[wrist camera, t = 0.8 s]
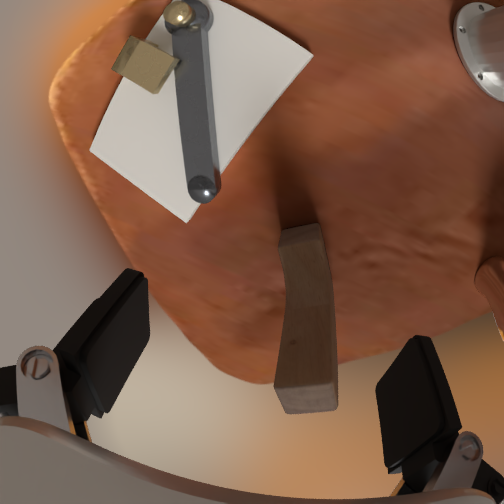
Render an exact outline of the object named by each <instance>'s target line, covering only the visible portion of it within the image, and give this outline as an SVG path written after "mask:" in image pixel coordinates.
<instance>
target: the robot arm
mask: <svg viewBox="0 0 504 504" xmlns="http://www.w3.org/2000/svg"><path fill="white" fill-rule="evenodd" d="M453 31H454V40H455V45H456V48H457V51H458V54H459V57H460V59H461V61H462V63H463V65H464V67H465V69H466V70H467V72H468V74H469V75H470V76H471V78H472V79H473V80H474V82H475V83H476V84H477V85H478V86H479V87H480V88H481V89H482V90H483V91H484V92H485V93H487V94H488V95H489V96H491V97H493V98H494V99H496V100H499V101H502V102H504V6H501V7H498V8H495V7H493V6H491V5H489V4H486V3H482V2H473V3H470V4H467V5H465V6H463V7H462V8H461V9H460V10H459V11H458V12H457V14H456V17H455V19H454V25H453ZM148 303H149V302H148V279H147V278H145V277H144V274H143V273H142V272H139V271H136V270H132V269H129V268H127V269H125V270H124V271H123V272H122V273H121V275H120V276H119V277H118V278H117V279H116V280H115V281H114V282H113V283H112V285H111V286H110V287H109V288H108V289H107V290H106V291H105V292H104V293H103V295H102V296H101V297H100V298H98V299H96V300H95V301H93V303H92V304H91V305H90V306H89V307H88V308H87V309H86V311H85V312H84V313H83V314H82V315H81V316H80V318H79V319H78V320H77V321H76V322H75V324H74V325H73V326H72V327H71V328H70V330H69V331H68V332H67V333H66V334H65V336H64V337H63V338H62V339H61V341H60V342H59V343H58V344H57V346H56V347H55V348H54V349H53V351H52V350H51V349H49V348H48V347H45V346H33V347H30V348H28V349H26V350H25V351H24V352H23V353H22V354H21V355H20V356H19V358H18V360H17V365H13V366H8V367H2V368H0V504H504V478H503V476H502V475H501V474H500V473H498V472H497V471H496V470H495V469H493V468H492V467H491V466H490V465H489V464H487V463H486V462H485V461H484V460H483V459H482V456H483V445H482V442H481V440H480V439H479V437H478V436H477V435H476V434H474V433H472V432H468V431H465V432H462V433H461V434H459V433H458V431H459V430H460V429H461V428H462V425H461V422H460V418H459V415H458V412H457V408H456V405H455V402H454V399H453V396H452V393H451V390H450V387H449V384H448V381H447V379H446V376H445V373H444V370H443V368H442V365H441V362H440V360H439V357H438V355H437V352H436V350H435V347H434V345H433V343H432V340H431V338H430V337H427V336H420V335H415V336H414V337H413V338H410V339H409V340H408V342H407V343H406V345H405V346H404V347H403V349H402V350H401V352H400V353H399V355H398V356H397V358H396V359H395V360H394V362H393V363H392V364H391V366H390V367H389V369H388V370H387V371H386V373H385V374H384V375H383V377H382V378H381V379H380V381H379V382H378V383H377V386H376V390H375V391H376V399H377V405H378V412H379V419H380V427H381V435H382V444H383V454H384V463H385V466H386V467H388V474H396V473H401V472H402V475H403V477H402V479H401V480H400V482H399V483H398V485H397V486H396V488H395V489H394V490H393V492H392V493H391V495H390V496H389V497H380V498H366V499H305V498H291V497H280V496H271V495H264V494H256V493H250V492H244V491H238V490H233V489H228V488H223V487H219V486H214V485H210V484H206V483H202V482H198V481H194V480H190V479H187V478H183V477H179V476H176V475H173V474H170V473H167V472H164V471H161V470H158V469H155V468H152V467H149V466H147V465H143V464H141V463H139V462H136V461H133V460H131V459H128V458H126V457H123V456H121V455H118V454H116V453H114V452H111V451H109V450H107V449H104V448H102V447H100V446H98V445H96V444H94V443H92V440H91V437H90V434H89V430H88V426H87V422H86V421H87V420H88V419H89V417H90V415H91V414H92V415H94V416H96V417H99V418H102V416H103V414H104V412H105V413H108V412H110V410H111V408H112V406H113V404H114V403H115V401H116V399H117V397H118V395H119V393H120V392H121V389H122V388H123V386H124V384H125V382H126V380H127V379H128V377H129V375H130V373H131V371H132V369H133V368H134V366H135V364H136V362H137V361H138V359H139V357H140V355H141V353H142V352H143V350H144V348H145V347H146V345H147V343H148V341H149V337H150V324H149V304H148Z"/></svg>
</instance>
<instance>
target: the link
mask: <svg viewBox="0 0 504 504" xmlns="http://www.w3.org/2000/svg"><path fill="white" fill-rule="evenodd" d="M181 1H183V2H185V3H186V4H188V5H189V6H191V7H192V8H193V9H194V10H195V12H196V17H195V20H194V21H193V22H192V23H191V24H190V25H188V26H186V27H178V26H175V25H173V24H171V23H169V22H167V21H166V20H165V21H164V23H165V27H166V29H167V31H168V32H169V33H170V34H172V48H173V56H174V57H176V58H178V59H180V60H179V62H178V63H177V65H176V66H175V68H174V75H175V87H176V98H177V108H178V117H179V126H180V135H181V144H182V152H183V159H184V167H185V175H186V182H187V189H188V193H189V195H190V197H191V198H192V199H193V200H194V201H196V202H198V203H208V202H210V201H211V200H212V199H213V198H214V197H215V196H216V195H217V194H218V193H219V191H220V189H221V177H220V167H219V157H218V147H217V137H216V126H215V115H214V104H213V93H212V81H211V68H210V55H209V42H208V31H209V30H210V29H211V27H212V25H213V21H214V16H213V13H212V11H211V10H210V9H209V8H208V7H207V6H206V5H205V4H203V3H202V2H201V1H199V0H181Z"/></svg>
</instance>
